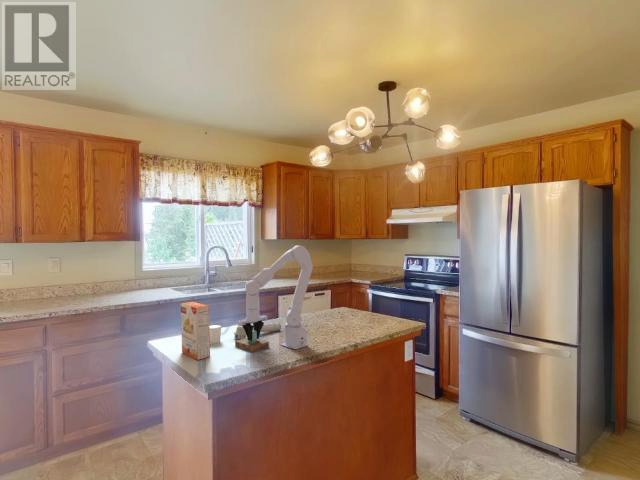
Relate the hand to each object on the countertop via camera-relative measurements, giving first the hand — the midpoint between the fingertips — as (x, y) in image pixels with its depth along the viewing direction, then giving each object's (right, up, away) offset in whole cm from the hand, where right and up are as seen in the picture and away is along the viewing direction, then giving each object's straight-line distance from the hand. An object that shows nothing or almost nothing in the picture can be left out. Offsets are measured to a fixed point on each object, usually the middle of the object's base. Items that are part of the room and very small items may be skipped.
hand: (253, 339), depth 160 cm
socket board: (-1, -3, +1) cm, 4 cm away
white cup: (-20, -4, +9) cm, 22 cm away
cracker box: (-22, -4, -10) cm, 24 cm away
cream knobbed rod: (-1, -4, +20) cm, 21 cm away
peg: (0, -2, 0) cm, 2 cm away
